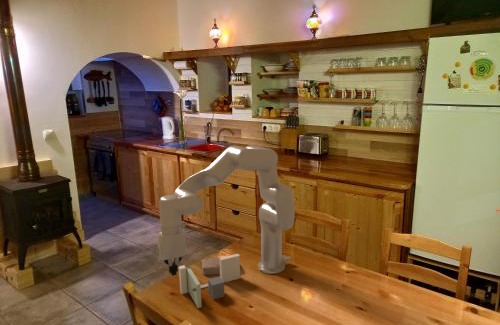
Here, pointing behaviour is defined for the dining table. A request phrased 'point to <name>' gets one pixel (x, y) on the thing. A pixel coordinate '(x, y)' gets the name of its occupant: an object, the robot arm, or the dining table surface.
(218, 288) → the grey block
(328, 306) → the dining table surface
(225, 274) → the wall frame
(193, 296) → the door
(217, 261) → the brick
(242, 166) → the robot arm
